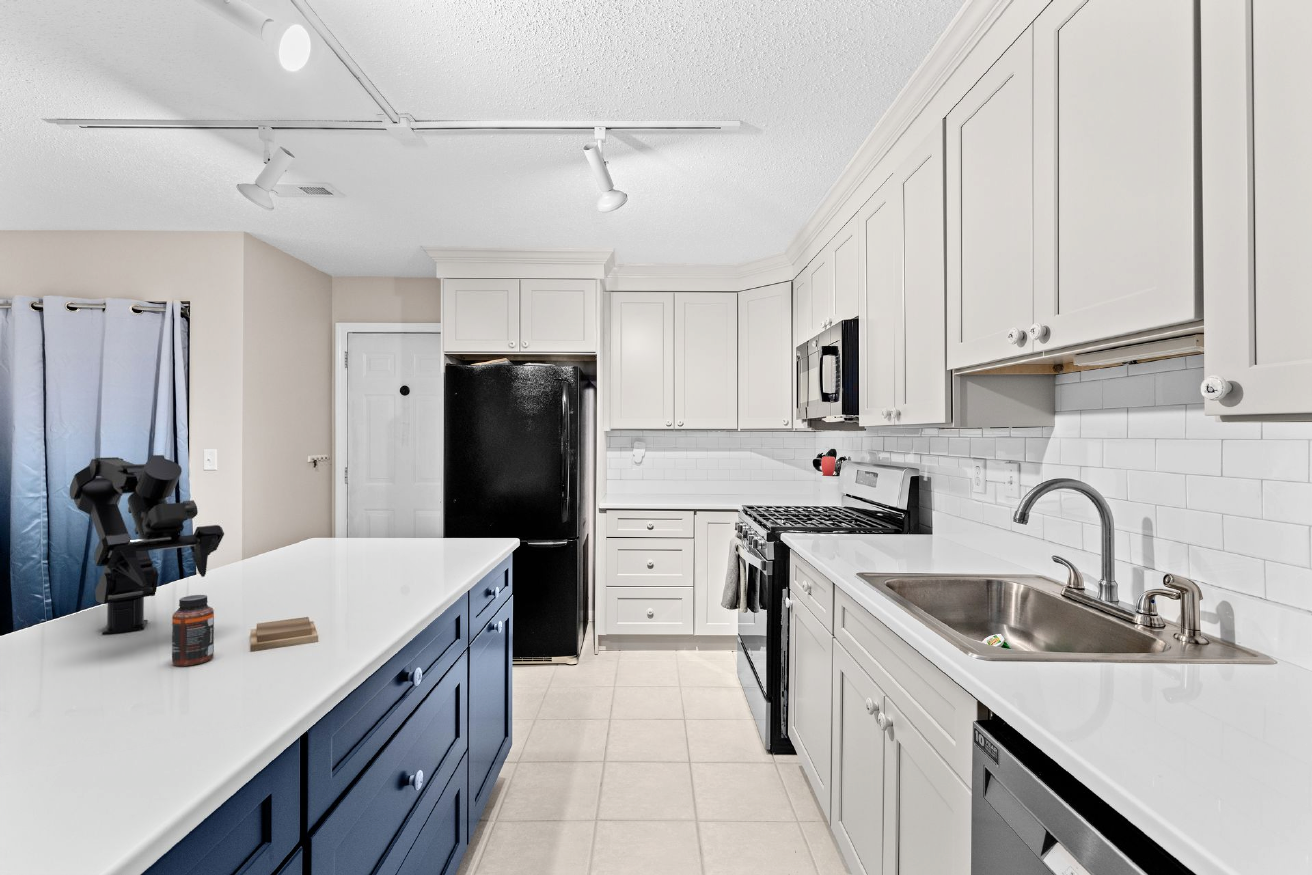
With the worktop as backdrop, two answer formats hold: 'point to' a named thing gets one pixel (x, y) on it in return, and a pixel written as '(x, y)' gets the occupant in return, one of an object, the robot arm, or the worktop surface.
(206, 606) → the supplement bottle
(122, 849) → the worktop surface
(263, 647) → the wooden stand
